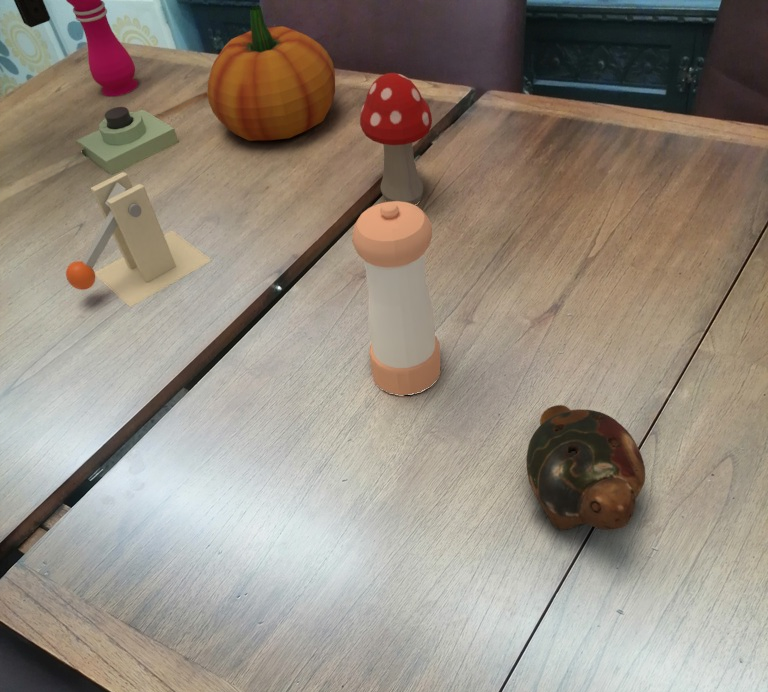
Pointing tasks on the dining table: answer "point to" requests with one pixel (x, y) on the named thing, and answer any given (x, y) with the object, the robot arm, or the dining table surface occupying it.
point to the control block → (127, 142)
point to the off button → (118, 118)
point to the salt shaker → (398, 296)
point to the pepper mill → (104, 49)
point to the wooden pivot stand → (142, 245)
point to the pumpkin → (271, 82)
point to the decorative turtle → (584, 469)
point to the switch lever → (93, 250)
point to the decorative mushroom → (397, 133)
